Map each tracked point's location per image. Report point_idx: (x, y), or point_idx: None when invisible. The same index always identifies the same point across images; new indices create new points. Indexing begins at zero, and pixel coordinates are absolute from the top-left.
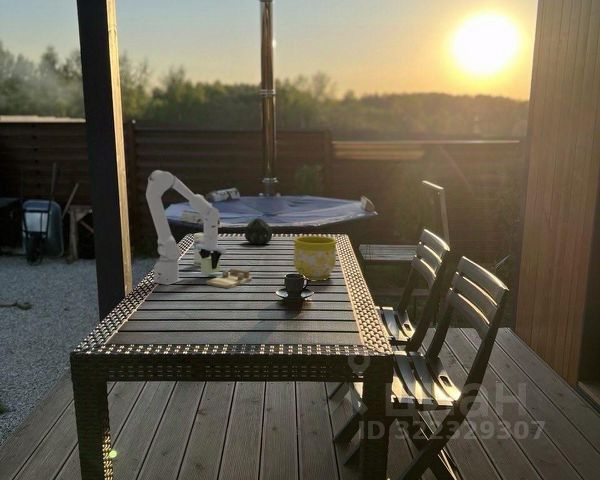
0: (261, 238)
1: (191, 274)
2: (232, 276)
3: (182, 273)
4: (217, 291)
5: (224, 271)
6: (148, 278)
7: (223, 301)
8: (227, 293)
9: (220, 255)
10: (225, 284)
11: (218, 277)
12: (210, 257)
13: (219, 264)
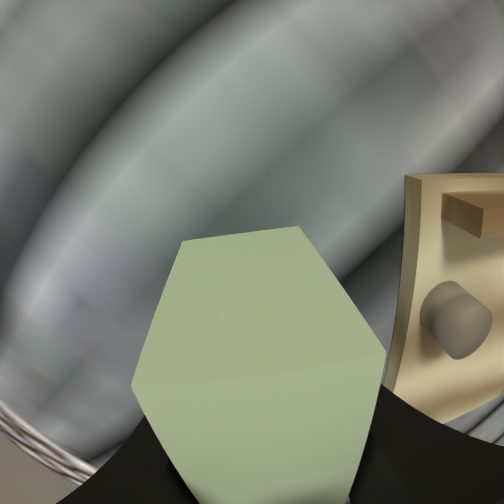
0: None
1: (83, 364)
2: (480, 257)
3: (32, 374)
4: (463, 431)
5: (468, 352)
6: (77, 486)
7: (497, 442)
8: (498, 412)
9: (485, 456)
10: (487, 398)
11: (404, 360)
12: (227, 480)
13: (326, 274)
